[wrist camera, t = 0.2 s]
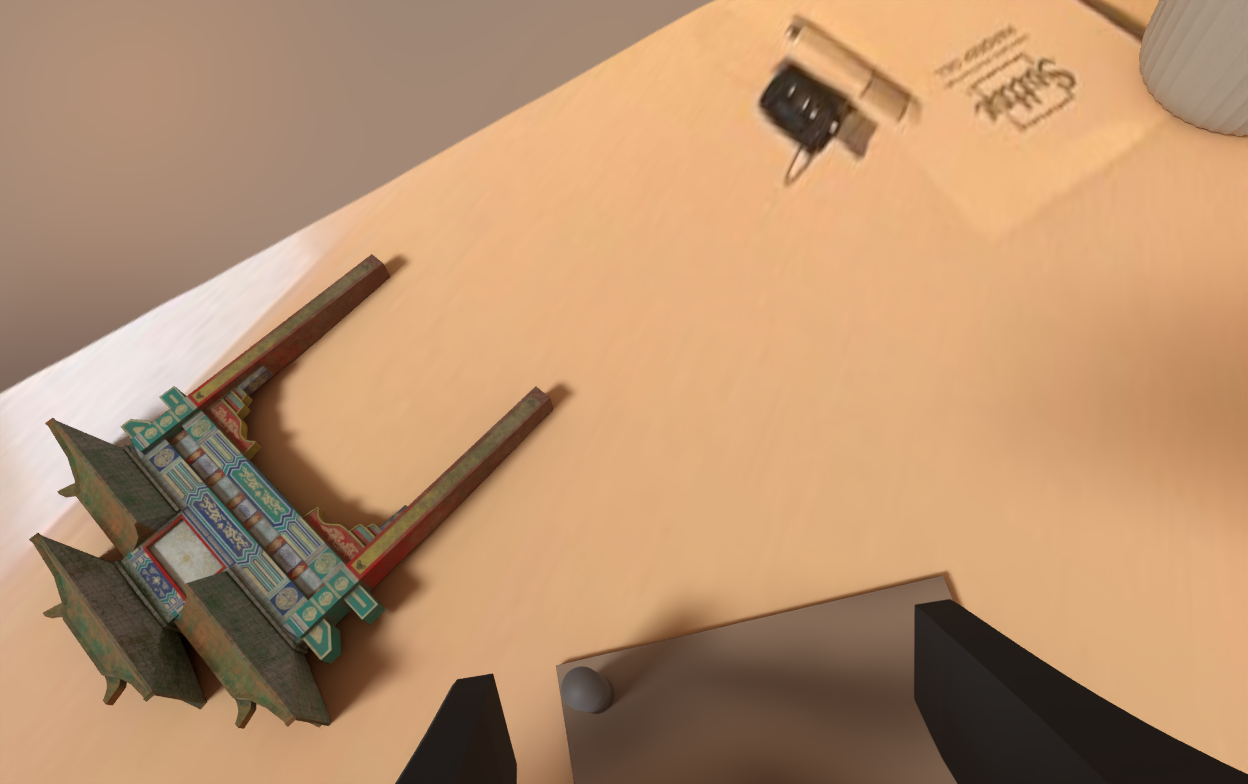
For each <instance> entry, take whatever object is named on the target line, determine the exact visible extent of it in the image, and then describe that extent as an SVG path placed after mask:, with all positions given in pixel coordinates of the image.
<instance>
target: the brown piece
mask: <svg viewBox="0 0 1248 784" xmlns="http://www.w3.org/2000/svg"><path fill="white" fill-rule="evenodd" d="M946 599H951V600H952V601H953V599H952V597H951V594H950V592H949V589H948V587H947V584H946V582H945V579H944V577H943V576H939V577H935V578H930V579H926V580H922V581H918V582H913V583H909V584H905V585H900V586H896V587H892V588H887V589H883V590H879V591H875V592H870V593H866V594H862V595H857V596H853V597H849V598H844V599H840V600H836V601H832V602H827V603H823V604H819V605H814V606H810V607H806V608H801V609H797V610H793V611H789V612H784V613H780V614H776V615H771V616H767V617H763V618H758V619H754V620H750V621H745V622H741V623H737V624H733V625H728V626H724V627H720V628H715V629H711V630H707V631H702V632H698V633H694V634H690V635H685V636H681V637H677V638H672V639H668V640H664V641H659V642H655V643H651V644H647V645H642V646H638V647H634V648H629V649H625V650H621V651H616V652H612V653H608V654H604V655H599V656H595V657H591V658H586V659H582V660H578V661H573V662H569V663H565V664H561V665H556V669H557V676H558V682H559V688H560V695H561V701H562V708H563V714H564V720H565V727H566V733H567V740H568V746H569V752H570V759H571V765H572V772H573V778H574V784H957V782H956V781H955V779H954V777H953V776H952V774H951V772H950V771H949V769H948V767H947V766H946V764H945V762H944V761H943V759H942V757H941V755H940V753H939V751H938V749H937V747H936V745H935V743H934V741H933V739H932V737H931V735H930V732H929V730H928V728H927V726H926V724H925V722H924V719H923V717H922V715H921V713H920V711H919V708H918V706H917V704H916V702H915V700H914V611H915V605H916V604H922V603H928V602H934V601H940V600H946Z"/></svg>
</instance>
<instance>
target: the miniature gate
mask: <svg viewBox="0 0 1248 784" xmlns="http://www.w3.org/2000/svg"><path fill="white" fill-rule="evenodd" d="M389 278H390V276H389V274H388V272H387V270H386V268H385V266H384V264H383V263H382V262H381V261H380V260H378V259H377V258H376V257H375V256H373V255H372V254H371V255H370V256H369V257H368V258H366V259H365V260H364V261H362V262H361V263H360V264H358V265H357V266H356V267H355V268H353V269H352V270H351V271H349V272H348V273H347V274H345V275H344V276H343V277H341V278H340V279H339V280H338V281H336V282H335V283H334V284H332V285H331V286H330V287H328V288H327V289H326V290H325V291H323V292H322V293H321V294H319V295H318V296H317V297H315V298H314V299H313V300H312V301H310V302H309V303H308V304H306V305H305V306H304V307H302V308H301V309H300V310H299V311H297V312H296V313H295V314H293V315H292V316H291V317H289V318H288V319H287V320H286V321H284V322H283V323H282V324H280V325H279V326H278V327H276V328H275V329H274V330H272V331H271V332H270V333H269V334H267V335H266V336H265V337H263V338H262V339H261V340H259V341H258V342H257V343H256V344H254V345H253V346H252V347H250V348H249V349H248V350H246V351H245V352H244V353H243V354H241V355H240V356H239V357H237V358H236V359H235V360H233V361H232V362H231V363H230V364H228V365H227V366H226V367H224V368H223V369H222V370H220V371H219V372H218V373H217V374H215V375H214V376H213V377H211V378H210V379H209V380H207V381H206V382H205V383H203V384H202V385H201V386H200V387H198V388H197V389H196V390H194V391H193V392H192V393H190V394H189V395H188V396H186V395H185V394H183V393H182V392H181V391H180V390H178V389H177V388H176V387H175V386H174V387H172V388H171V389H170V390H168V391H167V392H166V393H164V394H163V395H162V396H160V398H161V400H162V401H163V402H164V403H165V404H166V405H167V406H168V407H169V408H170V410H168V411H167V412H166V413H164V414H163V415H162V416H161V417H159V418H158V419H157V420H155V421H154V422H153V423H151V422H150V421H144V420H135V419H130V420H129V421H127V422H126V423H125V424H123V425H122V426H121V428H122V429H123V430H124V431H125V432H126V434H127V435H128V436H129V437H130V438H131V441H132V442H133V443H132V444H131V445H130V446H128V447H127V446H126V445H125V446H124V447H123V448H124V449H122V448H120V447H118V446H115V445H113V444H111V443H108V442H106V441H103V440H101V439H99V438H96V437H94V436H91V435H89V434H87V433H84V432H82V431H80V430H77V429H75V428H72V427H70V426H68V425H65V424H63V423H61V422H58V421H56V420H55V419H54V418H52V419H50V420H49V421H48V422H46V423H45V424H46V425H48V426H49V428H50V430H51V431H52V433H53V435H54V436H55V438H56V440H57V441H58V443H59V444H60V446H61V448H62V449H63V451H64V453H65V454H66V456H67V458H68V460H69V463H70V467H71V470H72V473H73V476H74V479H75V483H74V484H72V485H69V486H67V487H65V488H63V489H61V490H59V491H57V492H58V493H59V494H60V495H62V496H64V497H72V496H76V497H77V498H78V499H79V501H80V502H81V503H82V504H83V506H84V507H85V508H86V510H87V511H88V512H89V513H90V515H91V516H92V517H93V519H94V520H95V521H96V522H97V524H98V525H99V526H100V528H101V529H102V530H103V531H104V533H105V534H106V535H107V537H108V538H109V539H110V540H111V542H112V543H113V544H114V546H115V547H116V548H117V550H118V551H119V552H120V553H121V555H122V556H123V557H124V559H122V560H121V561H115V562H114V564H113V563H111V562H108V561H106V560H103V559H100V558H98V557H95V556H93V555H90V554H88V553H85V552H82V551H80V550H77V549H75V548H72V547H70V546H67V545H64V544H62V543H59V542H57V541H54V540H52V539H49V538H46V537H44V536H41V535H40V534H39V533H37V534H36V535H34V536H33V537H32V538H30V539H29V540H30V541H31V542H33V544H34V545H35V547H36V549H37V550H38V552H39V553H40V555H41V557H42V558H43V560H44V561H45V563H46V565H47V566H48V568H49V569H50V571H51V573H52V574H53V576H54V578H55V582H56V585H57V588H58V591H59V595H60V598H61V601H62V603H61V604H59V605H57V606H55V607H53V608H51V609H49V610H47V611H45V612H43V614H44V616H46V617H50V618H57V617H62V618H63V620H64V622H65V623H66V624H67V626H68V627H69V629H70V630H71V632H72V633H73V634H74V636H75V637H76V639H77V640H78V642H79V643H80V644H81V646H82V647H83V649H84V650H85V652H86V653H87V655H88V656H89V657H90V659H91V660H92V662H93V663H94V665H95V666H96V667H97V669H98V670H99V672H100V673H101V675H103V676H105V678H106V681H107V690H106V694H105V697H104V699H103V701H104V703H105V704H107V705H113V704H114V703H115V702H116V700H117V699H118V698H119V696H120V695H121V694H122V692H123V691H124V689H125V688H126V684H127V682H128V683H130V684H131V685H132V686H133V687H134V688H135V689H136V690H137V691H138V692H139V693H140V694H141V695H142V696H143V697H144V698H143V699H144V700H145V701H146V702H147V701H148V700H149V699H150V698H151V697H152V696H154V695H156V696H161V697H167V698H173V699H178V700H182V701H184V702H186V703H188V704H191V705H193V706H195V707H197V708H199V709H201V708H202V707H203V706H204V705H205V704H206V703H207V702H206V701H205V697H204V695H203V692H202V690H201V687H200V685H199V682H198V680H197V678H196V675H195V673H194V670H193V668H192V665H191V663H190V660H189V658H188V655H187V653H186V650H185V648H184V645H183V643H182V641H181V638H180V636H179V633H181V632H182V633H183V635H184V636H185V637H186V638H187V640H188V641H189V642H190V644H191V645H192V646H193V647H194V649H195V650H196V651H197V653H198V654H199V655H200V656H201V658H202V659H203V660H204V662H205V663H206V664H207V665H208V667H209V668H210V669H211V671H212V672H213V673H214V674H215V676H216V677H217V678H218V680H219V681H220V682H221V683H222V685H223V686H224V687H225V689H226V690H227V691H228V692H229V694H230V695H231V696H232V698H235V700H236V702H237V705H238V717H237V720H236V723H235V724H236V726H237V727H238V728H243V729H244V728H245V726H246V725H247V723H248V722H249V720H250V719H251V717H252V715H253V714H254V712H255V711H256V703H257V704H259V705H261V706H263V707H265V708H267V709H269V710H270V711H271V712H272V713H274V714H275V715H276V716H277V717H279V718H280V719H281V720H283V721H284V722H285V725H287V726H289V725H290V724H291V723H293V722H294V721H295V720H298V721H304V722H309V723H311V724H313V725H315V726H317V727H320V726H321V725H326V726H329V725H330V724H331V722H330V718H329V715H328V712H327V709H326V707H325V704H324V702H323V699H322V697H321V694H320V692H319V690H318V687H317V685H316V682H315V680H314V677H313V675H312V673H311V670H310V668H309V665H308V663H307V661H306V658H305V656H304V653H305V654H306V653H307V652H308V650H307V648H308V647H310V648H311V649H312V651H313V652H314V653H315V654H316V655H317V656H318V658H319V659H320V660H322V661H324V662H327V663H330V664H331V663H332V662H333V661H334V660H335V659H336V658H337V657H338V656H339V655H340V654H341V641H340V630H339V629H338V628H337V626H336V624H337V623H338V622H339V621H340V620H341V619H342V618H343V617H344V616H345V615H346V614H347V613H348V612H349V611H350V610H351V609H353V610H354V611H355V612H356V613H357V615H358V616H359V617H360V618H361V619H362V620H364V621H366V622H367V623H369V624H372V623H373V622H374V621H375V620H376V619H377V618H378V617H379V616H380V615H381V614H382V613H383V612H384V611H385V610H386V609H385V608H384V607H383V606H382V605H381V604H380V603H379V601H378V600H377V599H376V598H375V597H374V596H373V595H372V594H371V593H370V591H371V590H372V589H373V588H374V587H375V586H376V585H377V584H378V583H379V582H380V581H381V580H382V579H383V578H384V577H385V576H386V575H387V574H388V573H389V572H390V571H391V570H392V569H393V568H394V567H396V566H397V565H398V564H399V563H400V562H401V561H402V560H403V559H404V558H405V557H406V556H407V555H408V554H409V553H410V552H411V551H412V550H413V549H414V548H415V547H416V546H417V545H418V544H419V543H420V542H421V541H422V540H423V539H424V538H425V537H426V536H427V535H429V534H430V533H431V532H432V531H433V530H434V529H435V528H436V527H437V526H438V525H439V524H440V523H441V522H442V521H443V520H444V519H445V518H446V517H447V516H448V515H449V514H450V513H451V512H452V511H453V510H454V509H455V508H456V507H457V506H458V505H459V504H460V503H462V502H463V501H464V500H465V499H466V498H467V497H468V496H469V495H470V494H471V493H472V492H473V491H474V490H475V489H476V488H477V487H478V486H479V485H480V484H481V483H482V482H483V481H484V480H485V479H486V478H487V477H488V476H489V475H490V474H491V472H492V471H493V470H494V469H495V468H496V467H497V466H498V465H499V464H500V463H501V462H502V461H503V460H504V459H505V458H506V457H507V456H508V455H509V454H510V453H511V452H512V451H513V450H514V449H515V448H516V447H517V446H518V445H519V444H520V443H521V442H522V441H523V440H524V439H525V438H526V437H527V435H528V434H529V433H530V432H531V431H532V430H533V429H534V428H535V427H536V426H537V425H538V424H539V423H540V422H541V421H542V420H543V419H544V418H545V417H546V416H547V415H548V414H549V413H550V412H551V411H552V410H553V407H552V403H551V400H550V397H548V396H547V395H546V394H545V393H543V392H542V391H541V390H540V389H539V388H537V387H535V388H534V389H532V390H531V391H530V392H529V393H528V394H527V395H526V396H525V397H524V398H523V399H522V400H521V401H520V402H519V403H518V404H517V405H515V406H514V407H513V408H512V409H511V410H510V411H509V412H508V413H507V414H506V415H505V416H504V417H503V418H502V419H501V420H499V421H498V422H497V423H496V424H495V425H494V426H493V427H492V428H491V429H490V430H489V431H488V432H487V433H486V434H485V435H484V436H482V437H481V438H480V439H479V440H478V441H477V442H476V443H475V444H474V445H473V446H472V447H471V448H470V449H469V450H468V451H467V452H465V453H464V454H463V455H462V456H461V457H460V458H459V459H458V460H457V461H456V462H455V463H454V464H453V465H452V466H451V467H450V468H448V469H447V470H446V471H445V472H444V473H443V474H442V475H441V476H440V477H439V478H438V479H437V480H436V481H435V482H434V483H432V484H431V485H430V486H429V487H428V488H427V489H426V490H425V491H424V492H423V493H422V494H421V495H420V496H419V497H418V498H417V499H415V500H414V501H413V502H412V503H411V504H410V505H409V506H406V505H405V506H404V507H403V508H402V509H400V510H399V511H398V512H397V513H396V514H395V515H394V516H392V517H391V518H390V519H389V520H388V521H387V522H385V523H384V524H383V525H382V526H381V527H380V528H379V527H378V526H377V525H375V524H371V525H369V526H367V527H364V526H363V525H362V524H359V525H357V526H355V527H354V528H352V529H351V530H349V531H348V530H347V529H346V528H345V527H343V526H342V525H340V524H326V523H325V521H324V511H322V510H321V509H320V508H319V507H316V508H315V509H313V510H312V511H310V512H309V513H307V514H306V515H304V516H302V515H301V514H300V513H299V512H298V510H297V509H296V508H295V507H294V506H293V505H292V504H291V503H290V502H289V501H288V500H287V499H286V498H285V497H284V496H283V495H282V493H281V492H280V491H279V490H278V489H277V488H276V487H275V486H274V485H273V484H272V483H271V482H270V481H269V480H268V479H267V477H266V476H265V475H264V474H263V473H262V472H261V471H260V470H259V469H258V468H257V467H256V466H255V465H254V464H253V463H252V461H251V459H252V458H253V456H254V455H255V454H256V453H257V452H258V451H259V450H260V449H261V446H260V445H259V444H258V443H257V442H256V441H248V440H247V432H248V426H247V425H246V423H245V422H244V421H243V419H244V418H245V417H246V416H247V415H248V414H249V413H250V409H249V408H248V406H249V405H250V403H251V402H252V399H251V398H250V397H249V396H250V395H251V394H252V393H253V392H254V391H255V390H257V389H258V388H259V387H260V386H261V385H262V384H264V383H265V382H266V381H267V380H269V379H270V378H271V377H272V376H274V375H275V374H276V373H277V372H279V371H280V370H281V369H283V368H284V367H285V366H286V365H288V364H289V363H290V362H291V361H293V360H294V359H295V358H296V357H298V356H299V355H300V354H301V353H303V352H304V351H305V350H306V349H308V348H309V347H310V346H311V345H313V344H314V343H315V342H317V341H318V340H319V339H320V338H321V337H322V336H323V335H325V334H326V333H327V332H328V331H329V330H330V329H331V328H333V327H334V326H335V325H336V324H337V323H338V322H339V321H341V320H342V319H343V318H344V317H345V316H346V315H347V314H349V313H350V312H351V311H352V310H353V309H354V308H355V307H357V306H358V305H359V304H360V303H361V302H362V301H363V300H365V299H366V298H367V297H368V296H369V295H370V294H371V293H373V292H374V291H375V290H376V289H377V288H378V287H379V286H381V285H382V284H383V283H384V282H385V281H386V280H387V279H389ZM178 632H179V633H178Z"/></svg>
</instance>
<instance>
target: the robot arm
mask: <svg viewBox="0 0 1248 784" xmlns="http://www.w3.org/2000/svg"><path fill="white" fill-rule="evenodd" d="M914 700H915V702H916V704H917V706H918V708H919V711H920V713H921V715H922V717H923V719H924V722H925V724H926V726H927V728H928V730H929V732H930V735H931V737H932V739H933V741H934V743H935V745H936V747H937V749H938V751H939V753H940V755H941V757H942V759H943V761H944V762H945V764H946V766H947V767H948V769H949V771H950V772H951V774H952V776H953V777H954V779H955V781H956V782H957V784H1248V774H1246V773H1244V772H1242V771H1240V770H1237V769H1235V768H1233V767H1231V766H1229V765H1227V764H1225V763H1223V762H1221V761H1219V760H1217V759H1215V758H1213V757H1211V756H1209V755H1207V754H1205V753H1203V752H1201V751H1199V750H1197V749H1195V748H1193V747H1191V746H1189V745H1187V744H1185V743H1183V742H1181V741H1179V740H1177V739H1175V738H1173V737H1171V736H1169V735H1167V734H1166V733H1164V732H1162V731H1160V730H1158V729H1156V728H1154V727H1153V726H1151V725H1149V724H1147V723H1145V722H1143V721H1142V720H1140V719H1138V718H1136V717H1135V716H1133V715H1131V714H1130V713H1128V712H1126V711H1124V710H1123V709H1121V708H1119V707H1117V706H1116V705H1114V704H1112V703H1110V702H1109V701H1107V700H1105V699H1104V698H1102V697H1100V696H1098V695H1097V694H1095V693H1093V692H1092V691H1090V690H1089V689H1087V688H1085V687H1084V686H1082V685H1080V684H1079V683H1077V682H1075V681H1074V680H1072V679H1071V678H1069V677H1067V676H1066V675H1064V674H1063V673H1061V672H1060V671H1058V670H1056V669H1055V668H1053V667H1052V666H1050V665H1049V664H1047V663H1046V662H1044V661H1042V660H1041V659H1039V658H1038V657H1036V656H1035V655H1033V654H1032V653H1030V652H1029V651H1027V650H1026V649H1024V648H1023V647H1021V646H1020V645H1018V644H1017V643H1015V642H1014V641H1012V640H1011V639H1009V638H1008V637H1006V636H1005V635H1003V634H1002V633H1000V632H999V631H997V630H996V629H994V628H993V627H991V626H990V625H988V624H987V623H986V622H984V621H983V620H981V619H980V618H978V617H977V616H975V615H974V614H972V613H971V612H969V611H968V610H966V609H965V608H963V607H962V606H960V605H959V604H957V603H956V602H954V601H952V600H951V599H946V600H940V601H934V602H928V603H922V604H916V605H915V611H914ZM395 784H517V764H516V760H515V756H514V752H513V748H512V744H511V741H510V737H509V733H508V729H507V725H506V721H505V718H504V714H503V710H502V706H501V702H500V698H499V694H498V691H497V687H496V683H495V679H494V675H493V674H487V675H481V676H475V677H469V678H463V679H457V680H456V682H455V683H454V684H453V685H452V687H451V689H450V691H449V692H448V694H447V696H446V698H445V700H444V701H443V703H442V705H441V707H440V709H439V711H438V712H437V714H436V716H435V718H434V720H433V721H432V723H431V725H430V727H429V728H428V730H427V732H426V734H425V735H424V737H423V739H422V740H421V742H420V744H419V746H418V747H417V749H416V751H415V752H414V754H413V756H412V757H411V759H410V761H409V762H408V764H407V765H406V767H405V769H404V770H403V772H402V774H401V775H400V777H399V778H398V780H397V782H396V783H395Z"/></svg>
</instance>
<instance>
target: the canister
mask: <svg viewBox="0 0 1248 784" xmlns="http://www.w3.org/2000/svg"><path fill="white" fill-rule="evenodd" d="M1139 60H1140V72H1141V75H1142V78H1143V82H1144V84H1145V85H1146V86H1147V89H1148V92H1149V93H1150V94H1152V95H1153V96H1154V99H1155V101H1156V102H1159V103H1160V104H1161V105H1162V106H1163V108H1164V109H1166V110H1168V111H1170V112H1171V113H1172V114H1173V116H1176V117H1179V118H1181V119H1182V120H1183V121H1184V122H1187V123H1191V124H1193V125H1195V126H1196V127H1197V128H1204V129H1207V130H1208V131H1210V132H1219V133H1221V134H1223V135H1227V134H1233V135H1235V136H1244V135H1248V0H1159V2H1158V4H1157V6H1156V8H1155V11H1154V13H1153V15H1152V17H1151V19H1150V21H1149V24H1148V26H1147V28H1146V31H1145V33H1144V36H1143V40H1142V44H1141V49H1140V55H1139Z"/></svg>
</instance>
